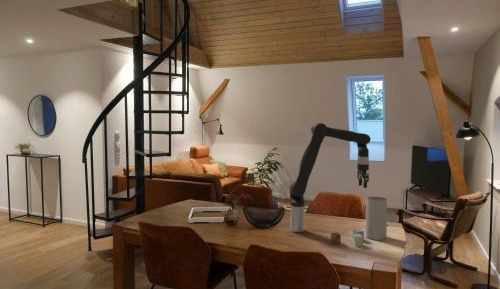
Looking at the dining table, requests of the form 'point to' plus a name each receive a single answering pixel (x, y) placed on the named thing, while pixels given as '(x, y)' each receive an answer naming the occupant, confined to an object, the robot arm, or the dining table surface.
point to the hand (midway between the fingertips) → (362, 186)
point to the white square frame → (208, 219)
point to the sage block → (357, 240)
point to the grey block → (359, 232)
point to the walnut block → (335, 238)
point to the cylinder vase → (376, 218)
